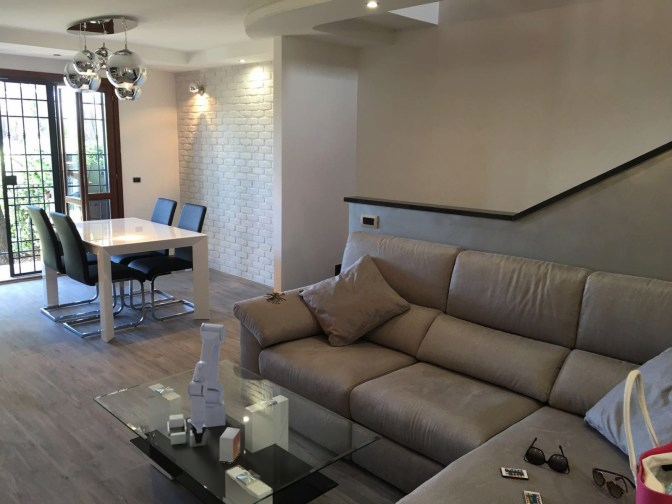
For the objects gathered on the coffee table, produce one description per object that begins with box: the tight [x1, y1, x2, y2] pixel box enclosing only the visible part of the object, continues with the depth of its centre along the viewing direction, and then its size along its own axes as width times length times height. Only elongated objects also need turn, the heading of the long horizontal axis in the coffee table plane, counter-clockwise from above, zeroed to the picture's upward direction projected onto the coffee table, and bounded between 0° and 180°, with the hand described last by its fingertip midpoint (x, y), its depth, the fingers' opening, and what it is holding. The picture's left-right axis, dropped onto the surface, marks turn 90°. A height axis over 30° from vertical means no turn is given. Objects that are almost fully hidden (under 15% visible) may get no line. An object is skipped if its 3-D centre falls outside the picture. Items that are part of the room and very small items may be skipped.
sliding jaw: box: [168, 413, 184, 429], centre depth 238 cm, size 6×4×4 cm, turn 109°
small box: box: [219, 426, 242, 462], centre depth 217 cm, size 8×6×10 cm
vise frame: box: [166, 419, 188, 446], centre depth 233 cm, size 7×16×4 cm, turn 19°
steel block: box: [189, 429, 207, 448], centre depth 226 cm, size 4×6×5 cm, turn 109°
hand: (197, 440), depth 226 cm, fingers closed on steel block, 4 cm apart
